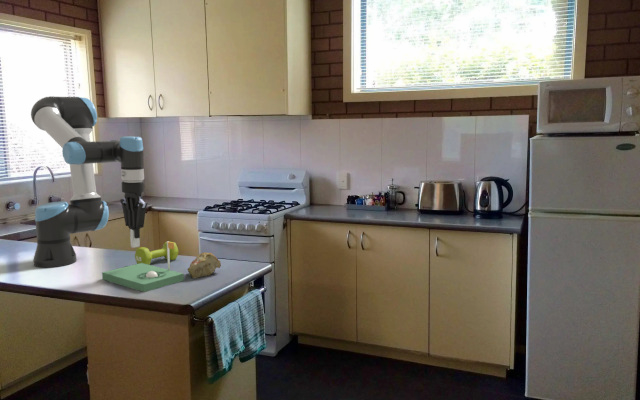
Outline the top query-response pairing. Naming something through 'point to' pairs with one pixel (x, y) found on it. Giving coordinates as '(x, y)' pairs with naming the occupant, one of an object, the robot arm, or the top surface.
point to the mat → (142, 277)
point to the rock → (203, 265)
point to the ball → (151, 274)
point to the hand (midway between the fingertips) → (135, 246)
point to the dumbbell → (155, 254)
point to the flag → (171, 246)
